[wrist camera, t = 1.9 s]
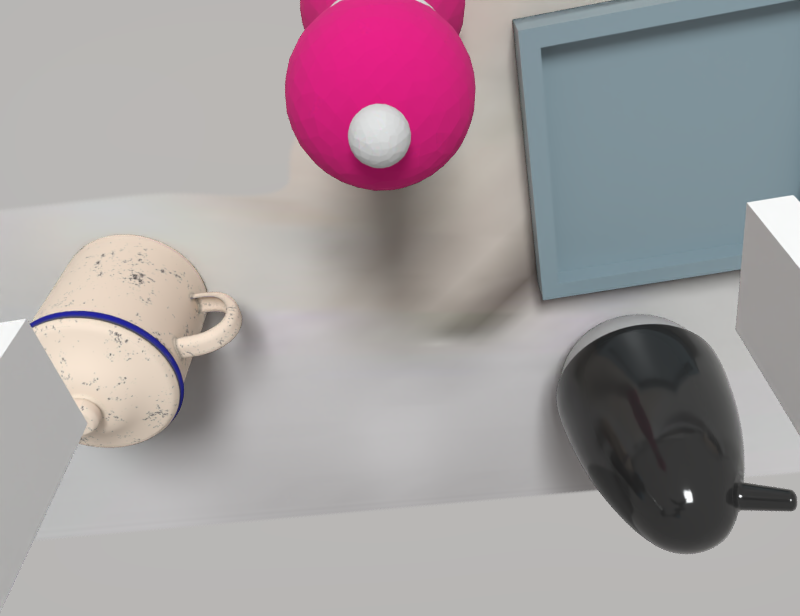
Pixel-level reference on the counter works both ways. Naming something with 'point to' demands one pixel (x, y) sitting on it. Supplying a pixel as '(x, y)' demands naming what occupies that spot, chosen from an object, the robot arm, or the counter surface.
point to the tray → (654, 135)
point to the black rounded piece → (660, 432)
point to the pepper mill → (380, 88)
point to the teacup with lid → (129, 334)
